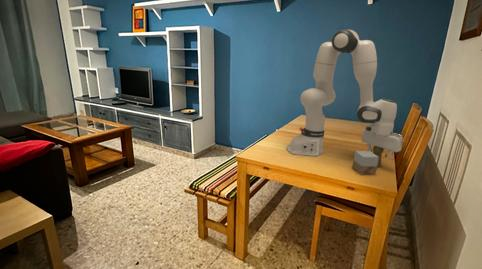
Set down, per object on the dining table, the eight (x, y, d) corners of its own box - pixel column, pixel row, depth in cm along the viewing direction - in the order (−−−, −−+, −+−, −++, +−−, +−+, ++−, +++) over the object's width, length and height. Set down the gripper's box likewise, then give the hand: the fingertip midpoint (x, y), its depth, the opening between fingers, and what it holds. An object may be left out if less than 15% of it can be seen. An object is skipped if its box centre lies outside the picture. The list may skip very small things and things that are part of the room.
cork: (366, 162, 141) (370, 144, 138) (378, 163, 140) (382, 145, 137) (371, 167, 135) (375, 148, 132) (382, 167, 135) (387, 149, 131)
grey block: (361, 166, 124) (363, 157, 123) (353, 159, 132) (355, 151, 130) (376, 166, 125) (378, 157, 123) (368, 159, 132) (369, 151, 131)
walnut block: (360, 175, 125) (362, 166, 124) (351, 168, 133) (353, 160, 131) (375, 175, 127) (377, 166, 125) (365, 168, 134) (367, 159, 133)
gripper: (407, 134, 124) (401, 159, 128) (368, 125, 141) (364, 147, 145) (400, 136, 121) (394, 162, 125) (361, 126, 138) (358, 149, 142)
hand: (378, 154), depth 135 cm, fingers open, 8 cm apart
